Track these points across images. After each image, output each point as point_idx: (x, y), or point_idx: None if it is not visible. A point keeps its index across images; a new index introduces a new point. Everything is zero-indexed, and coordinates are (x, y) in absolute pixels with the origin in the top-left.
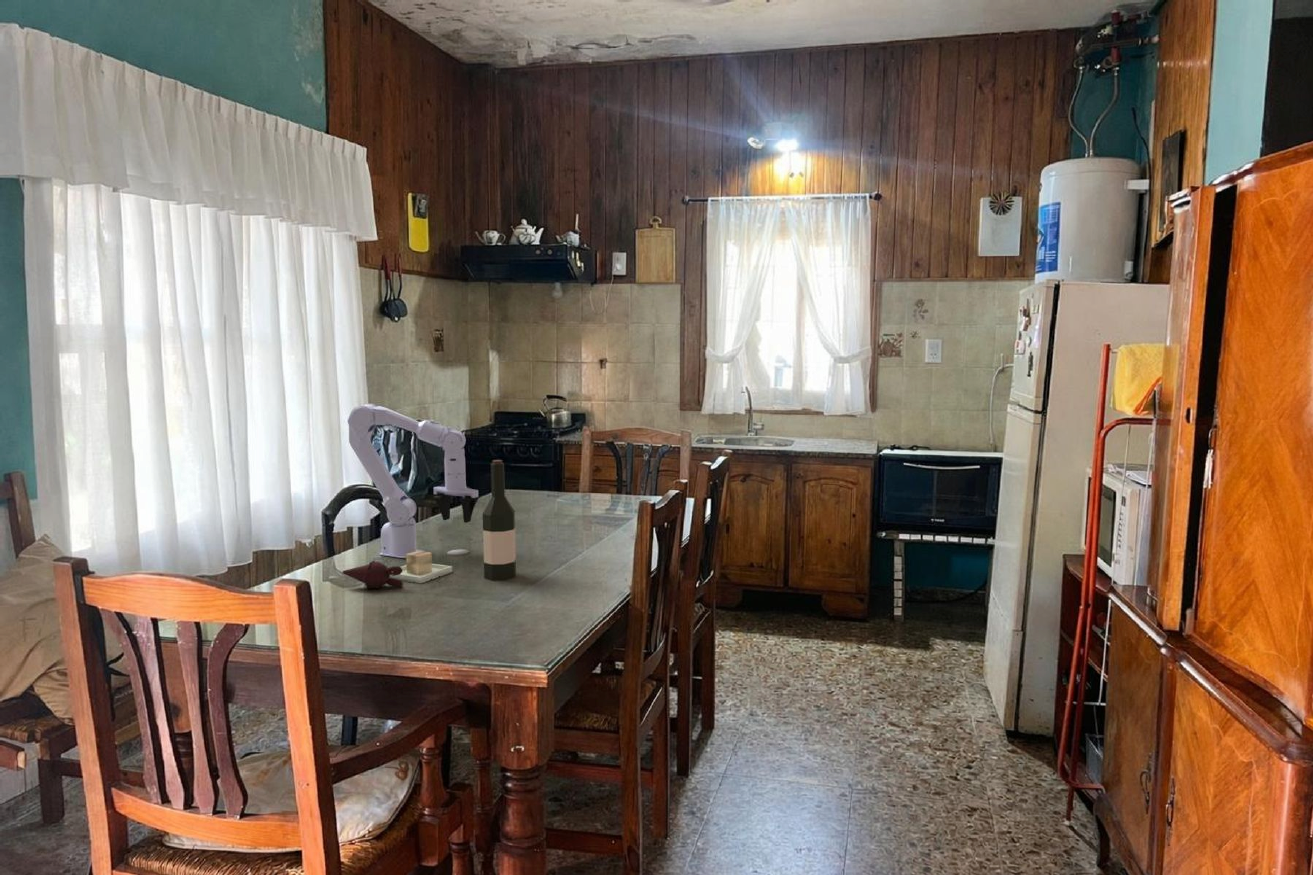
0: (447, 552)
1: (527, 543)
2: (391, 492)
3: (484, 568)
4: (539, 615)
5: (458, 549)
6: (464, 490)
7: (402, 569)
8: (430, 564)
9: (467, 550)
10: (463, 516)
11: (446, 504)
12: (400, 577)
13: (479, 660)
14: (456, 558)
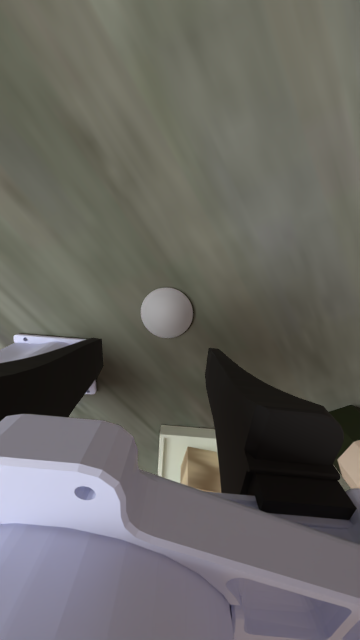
0: (146, 327)
1: (308, 116)
2: None
3: (333, 463)
4: None
5: (151, 293)
6: (248, 619)
7: (163, 460)
8: (218, 468)
9: (179, 293)
10: (210, 398)
11: (52, 396)
12: None
13: None
14: (193, 354)
